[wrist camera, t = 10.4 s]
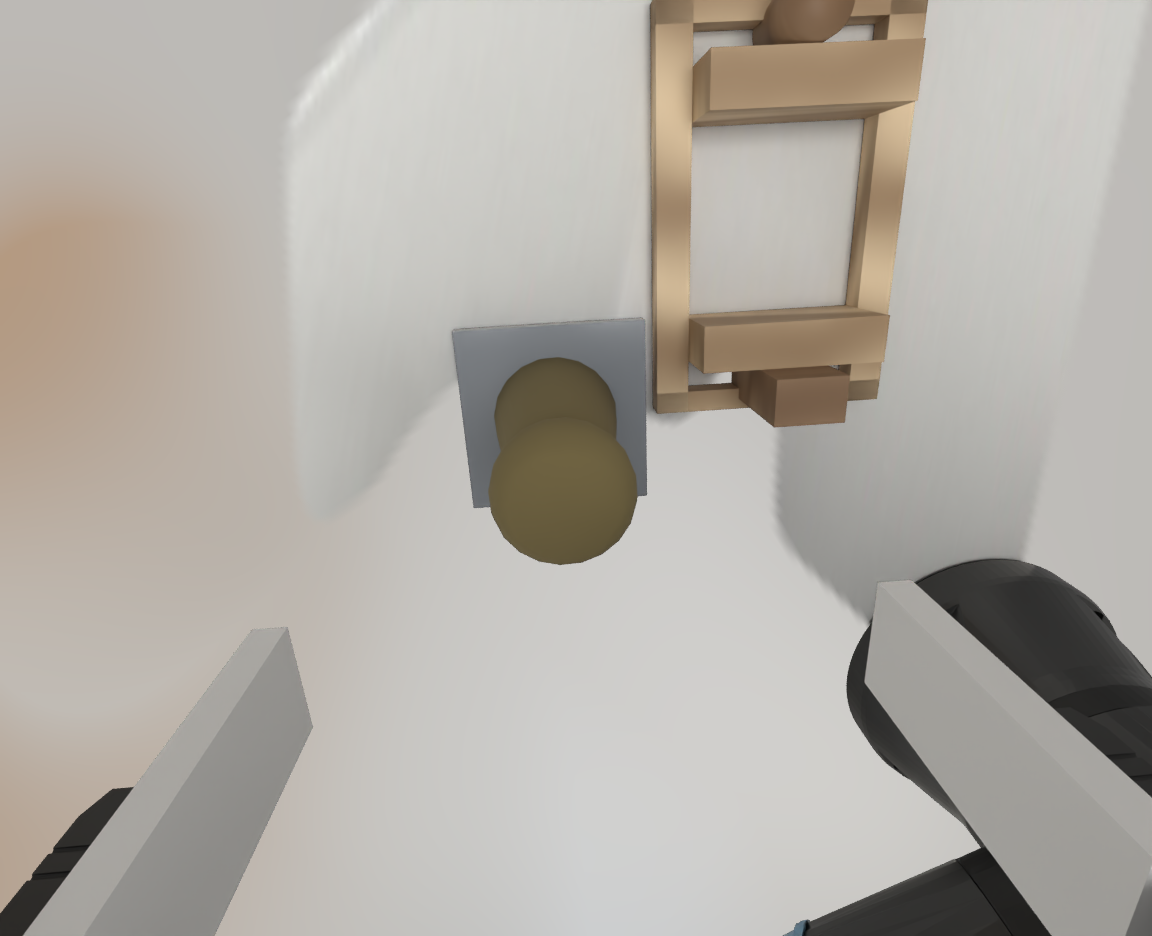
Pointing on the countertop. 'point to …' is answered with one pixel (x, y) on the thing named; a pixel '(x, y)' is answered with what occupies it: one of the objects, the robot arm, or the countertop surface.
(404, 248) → the countertop surface
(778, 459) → the countertop surface
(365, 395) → the countertop surface
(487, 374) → the slate coaster
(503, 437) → the cork
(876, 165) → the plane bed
